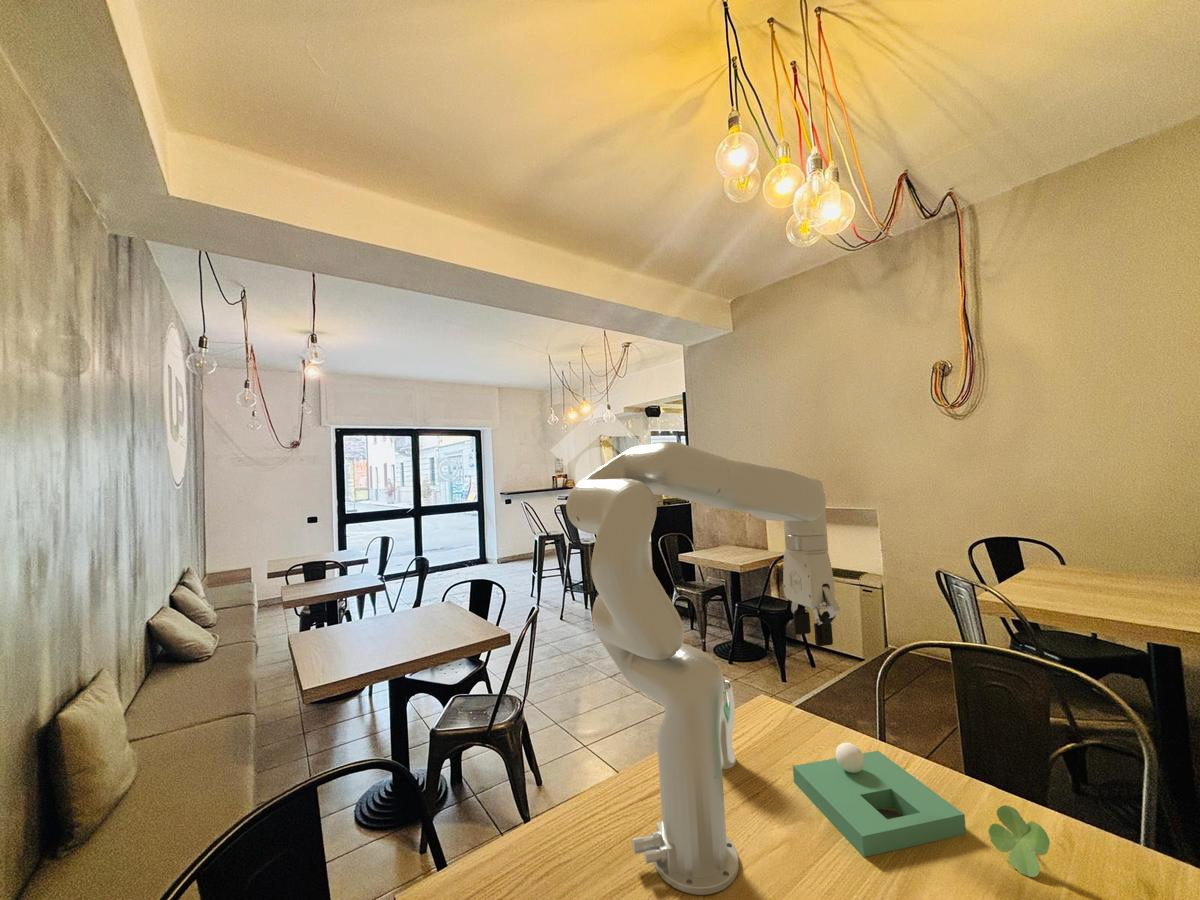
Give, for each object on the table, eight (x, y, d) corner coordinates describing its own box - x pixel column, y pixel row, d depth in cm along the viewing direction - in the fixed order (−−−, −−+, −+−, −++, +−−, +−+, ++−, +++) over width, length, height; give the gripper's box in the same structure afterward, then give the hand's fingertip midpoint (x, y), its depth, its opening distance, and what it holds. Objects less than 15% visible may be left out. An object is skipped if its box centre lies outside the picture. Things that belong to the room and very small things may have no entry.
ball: (848, 780, 85) (846, 753, 85) (831, 765, 89) (829, 739, 90) (871, 776, 86) (869, 749, 86) (853, 761, 90) (851, 735, 90)
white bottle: (710, 747, 102) (706, 674, 103) (743, 757, 98) (738, 681, 99) (696, 764, 97) (692, 687, 98) (730, 775, 93) (725, 695, 93)
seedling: (1010, 877, 72) (996, 870, 69) (993, 811, 77) (980, 802, 74) (1073, 887, 68) (1062, 882, 65) (1051, 817, 73) (1039, 808, 70)
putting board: (863, 857, 72) (862, 836, 72) (793, 782, 90) (792, 765, 90) (966, 834, 75) (964, 814, 75) (879, 766, 93) (878, 750, 93)
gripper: (764, 539, 101) (770, 627, 100) (816, 551, 84) (824, 658, 83) (797, 536, 102) (803, 623, 101) (854, 548, 85) (863, 652, 84)
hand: (813, 638), depth 92 cm, fingers open, 5 cm apart
